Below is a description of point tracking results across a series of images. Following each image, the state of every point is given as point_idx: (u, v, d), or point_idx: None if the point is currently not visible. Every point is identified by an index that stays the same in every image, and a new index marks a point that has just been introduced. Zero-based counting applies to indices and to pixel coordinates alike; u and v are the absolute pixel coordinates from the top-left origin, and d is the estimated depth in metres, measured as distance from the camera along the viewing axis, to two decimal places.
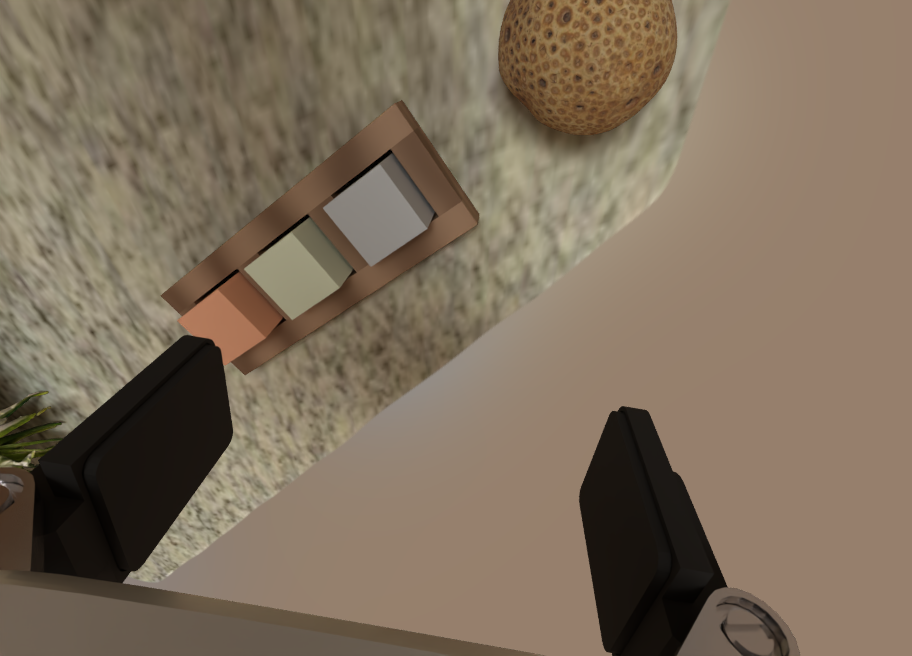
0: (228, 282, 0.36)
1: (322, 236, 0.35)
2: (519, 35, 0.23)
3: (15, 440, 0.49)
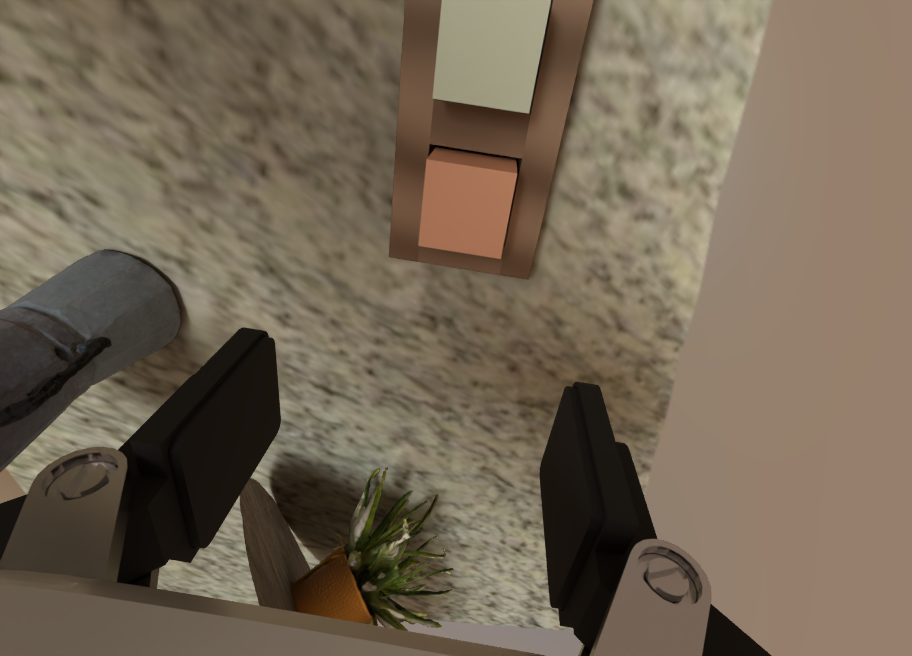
0: (432, 155, 0.27)
1: None
2: None
3: (386, 529, 0.45)
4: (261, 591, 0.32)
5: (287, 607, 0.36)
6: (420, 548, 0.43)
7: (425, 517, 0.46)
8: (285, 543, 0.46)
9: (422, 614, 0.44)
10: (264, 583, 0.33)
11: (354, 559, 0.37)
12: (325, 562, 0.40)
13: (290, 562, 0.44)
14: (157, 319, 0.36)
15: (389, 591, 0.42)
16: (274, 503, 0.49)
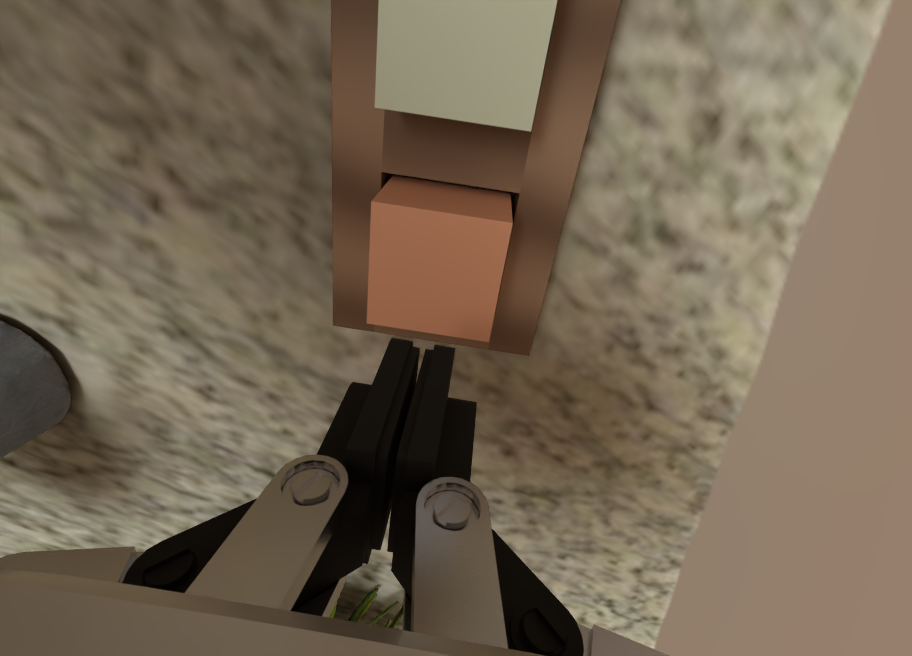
0: (383, 191, 0.18)
1: None
2: None
3: None
4: None
5: None
6: None
7: (396, 620, 0.37)
8: None
9: None
10: None
11: None
12: None
13: None
14: (29, 400, 0.27)
15: None
16: None
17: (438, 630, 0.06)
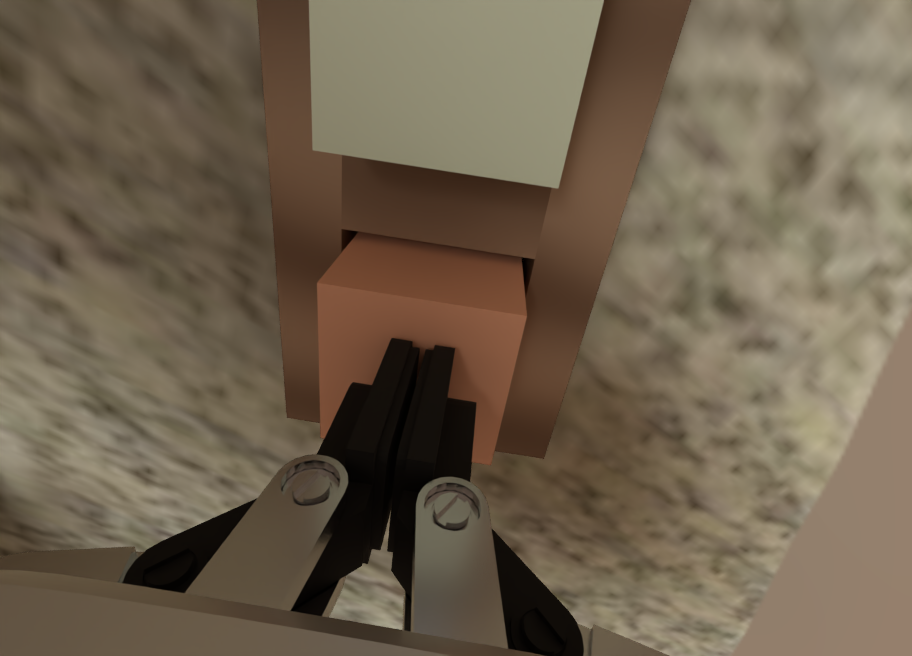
0: (340, 260, 0.12)
1: None
2: None
3: None
4: None
5: None
6: None
7: None
8: None
9: None
10: None
11: None
12: None
13: None
14: None
15: None
16: None
17: (438, 630, 0.06)
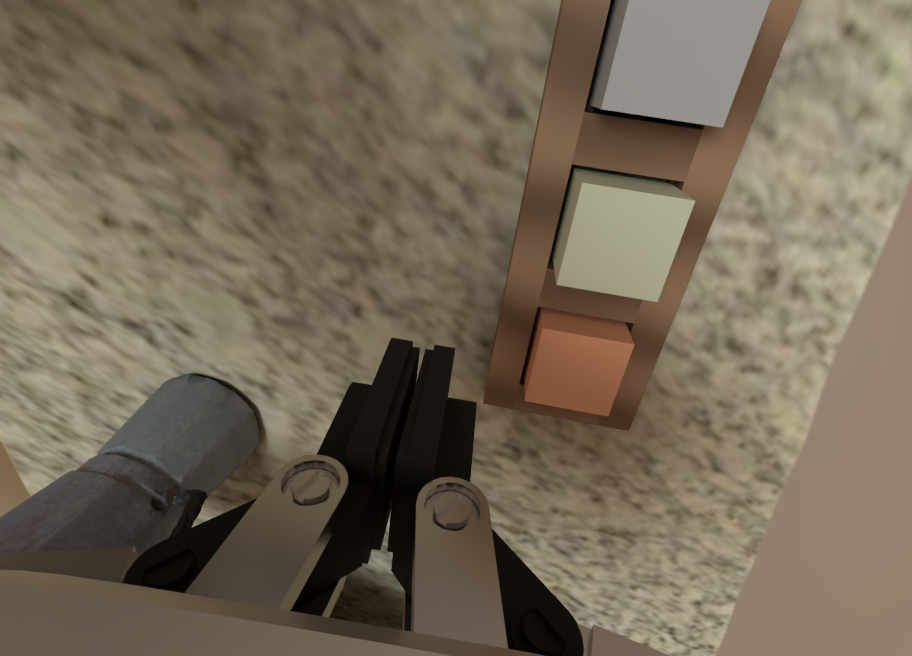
0: (543, 317, 0.27)
1: (608, 176, 0.23)
2: None
3: None
4: None
5: None
6: None
7: None
8: None
9: None
10: None
11: None
12: None
13: None
14: (240, 445, 0.36)
15: None
16: None
17: (438, 630, 0.06)
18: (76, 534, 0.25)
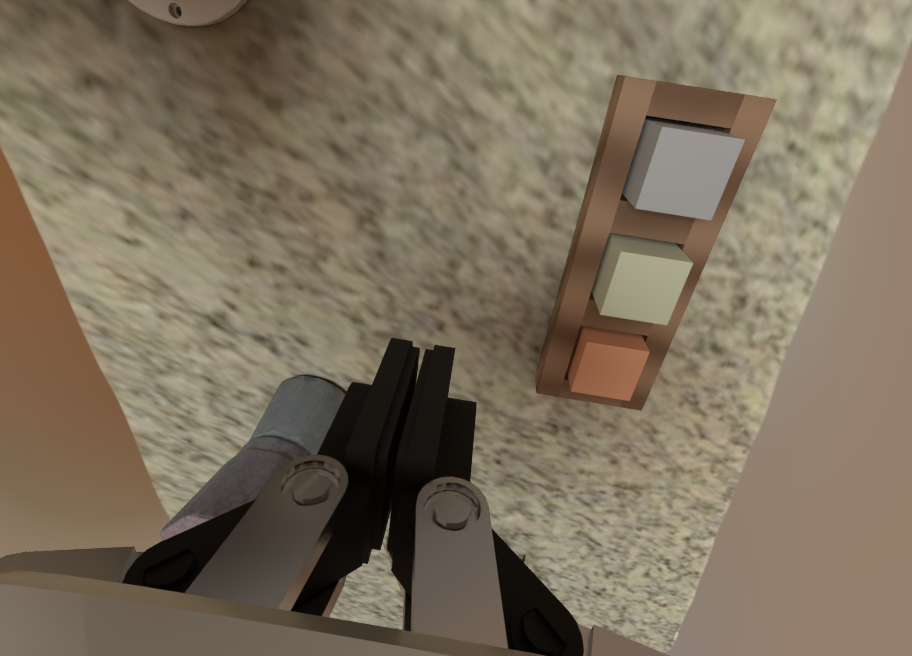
0: (585, 332, 0.38)
1: (633, 240, 0.35)
2: None
3: None
4: None
5: None
6: None
7: None
8: (403, 592, 0.57)
9: None
10: None
11: None
12: None
13: None
14: None
15: None
16: (388, 556, 0.60)
17: (438, 630, 0.06)
18: None
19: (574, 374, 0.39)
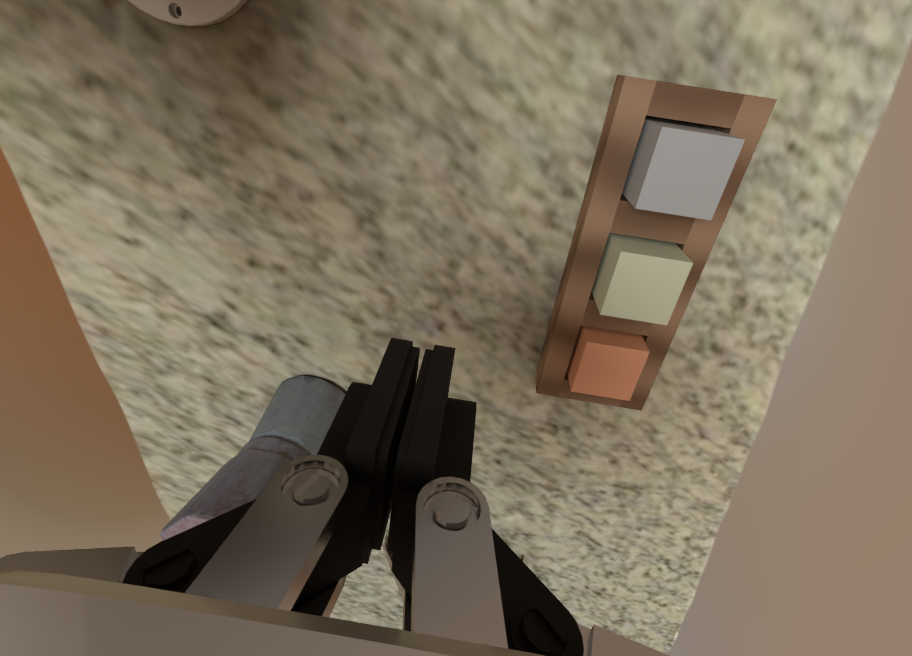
0: (585, 332, 0.38)
1: (633, 240, 0.35)
2: None
3: None
4: None
5: None
6: None
7: None
8: (401, 591, 0.57)
9: None
10: None
11: None
12: None
13: None
14: None
15: None
16: (387, 556, 0.60)
17: (438, 630, 0.06)
18: None
19: (574, 374, 0.39)
